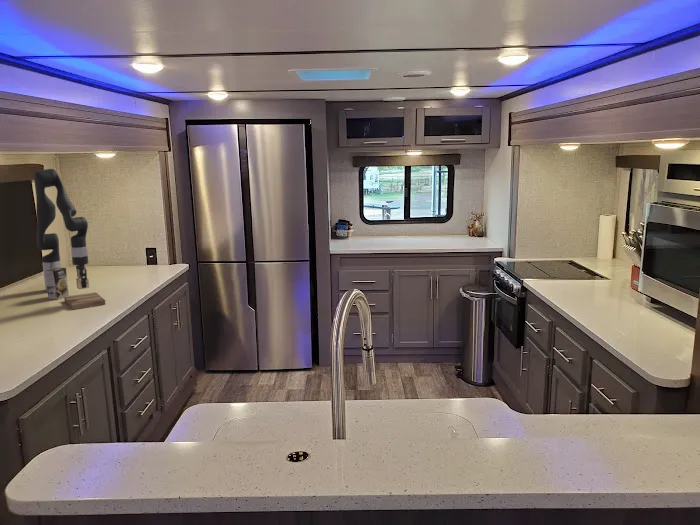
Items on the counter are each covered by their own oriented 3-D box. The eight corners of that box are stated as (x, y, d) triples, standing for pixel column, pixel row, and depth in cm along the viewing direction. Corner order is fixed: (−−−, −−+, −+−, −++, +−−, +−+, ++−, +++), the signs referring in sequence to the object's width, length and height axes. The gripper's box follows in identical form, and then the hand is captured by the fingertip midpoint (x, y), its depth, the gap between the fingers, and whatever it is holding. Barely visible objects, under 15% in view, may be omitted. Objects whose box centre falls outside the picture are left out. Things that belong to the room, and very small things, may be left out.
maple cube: (77, 287, 293) (76, 278, 292) (87, 286, 296) (86, 277, 295) (79, 289, 289) (78, 280, 288) (89, 287, 292) (88, 278, 291)
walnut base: (64, 301, 297) (64, 296, 297) (96, 296, 307) (95, 292, 306) (72, 309, 282) (71, 304, 281) (105, 304, 291) (105, 299, 291)
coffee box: (58, 299, 300) (54, 271, 297) (47, 299, 302) (44, 270, 298) (69, 295, 309) (66, 267, 306) (59, 294, 310) (56, 267, 307)
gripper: (69, 254, 292) (72, 285, 296) (74, 258, 281) (78, 290, 285) (84, 252, 297) (87, 283, 300) (90, 256, 286) (93, 288, 289)
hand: (83, 286), depth 292 cm, fingers closed on maple cube, 5 cm apart
